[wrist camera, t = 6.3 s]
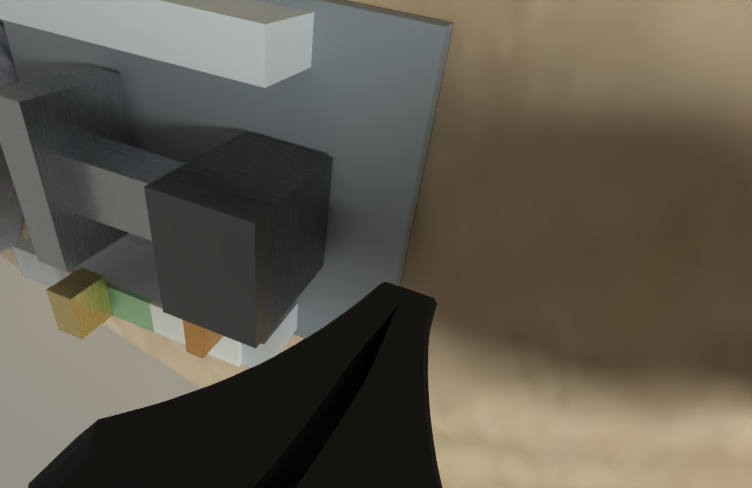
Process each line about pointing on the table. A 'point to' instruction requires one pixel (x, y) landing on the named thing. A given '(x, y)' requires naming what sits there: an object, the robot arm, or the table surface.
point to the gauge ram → (167, 205)
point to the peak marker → (80, 302)
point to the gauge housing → (257, 123)
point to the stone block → (3, 209)
